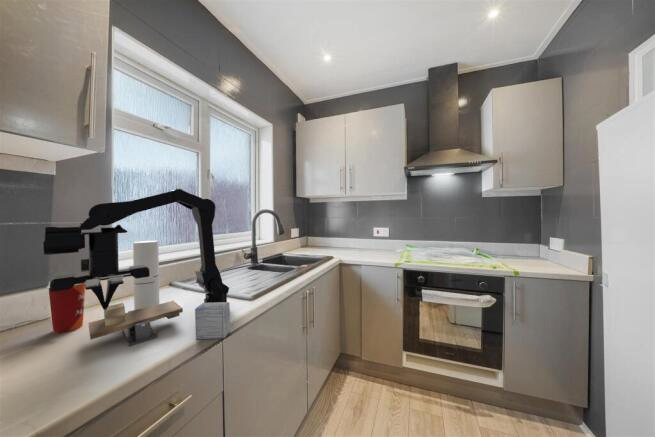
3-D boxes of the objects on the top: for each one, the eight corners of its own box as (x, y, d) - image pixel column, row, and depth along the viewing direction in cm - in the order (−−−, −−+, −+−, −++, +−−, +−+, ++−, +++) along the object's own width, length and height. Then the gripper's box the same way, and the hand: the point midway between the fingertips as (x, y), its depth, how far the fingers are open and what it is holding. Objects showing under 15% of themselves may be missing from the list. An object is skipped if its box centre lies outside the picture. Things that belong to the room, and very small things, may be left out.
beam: (173, 308, 79) (173, 300, 79) (183, 316, 72) (182, 308, 72) (89, 332, 64) (88, 322, 64) (90, 345, 57) (90, 334, 57)
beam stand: (146, 321, 75) (146, 306, 75) (157, 337, 65) (157, 320, 65) (121, 328, 71) (121, 312, 71) (129, 346, 61) (129, 328, 61)
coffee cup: (91, 326, 73) (90, 278, 73) (51, 338, 66) (50, 284, 66) (82, 320, 77) (82, 274, 77) (44, 330, 70) (43, 280, 70)
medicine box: (230, 331, 68) (230, 301, 68) (224, 339, 64) (223, 307, 64) (203, 332, 68) (202, 302, 68) (195, 340, 64) (194, 308, 64)
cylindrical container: (164, 307, 87) (163, 240, 87) (147, 315, 80) (146, 242, 80) (146, 307, 88) (145, 240, 88) (128, 315, 81) (127, 242, 81)
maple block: (123, 316, 67) (122, 302, 67) (125, 320, 65) (124, 306, 64) (104, 321, 64) (103, 307, 64) (105, 326, 62) (104, 311, 62)
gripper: (142, 245, 75) (142, 293, 75) (52, 252, 61) (53, 311, 62) (149, 247, 68) (150, 301, 68) (49, 256, 54) (50, 324, 54)
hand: (105, 308), depth 63 cm, fingers closed
